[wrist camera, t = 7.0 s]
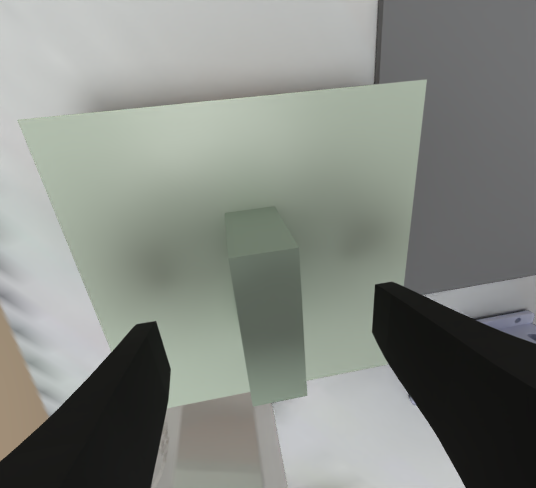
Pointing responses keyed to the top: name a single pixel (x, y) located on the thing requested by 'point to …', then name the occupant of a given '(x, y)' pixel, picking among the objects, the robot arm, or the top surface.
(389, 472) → the top surface
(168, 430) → the jar
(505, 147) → the mat
